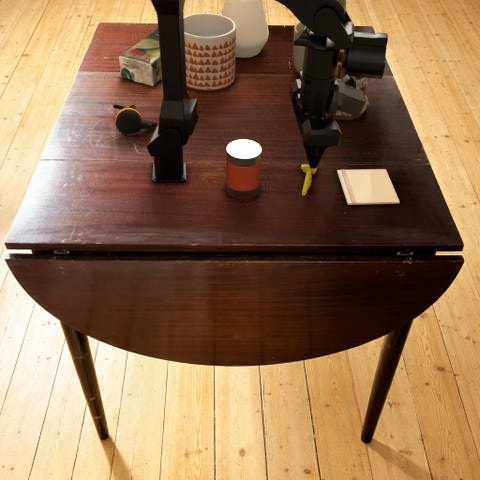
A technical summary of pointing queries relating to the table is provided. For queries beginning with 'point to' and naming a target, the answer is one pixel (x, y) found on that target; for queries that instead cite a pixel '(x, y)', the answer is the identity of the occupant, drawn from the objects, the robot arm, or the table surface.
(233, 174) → the can
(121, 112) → the character figurine
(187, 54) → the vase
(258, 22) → the white rounded pot
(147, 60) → the juice carton
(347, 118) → the mug
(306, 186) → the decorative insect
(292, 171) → the table surface
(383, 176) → the napkin
